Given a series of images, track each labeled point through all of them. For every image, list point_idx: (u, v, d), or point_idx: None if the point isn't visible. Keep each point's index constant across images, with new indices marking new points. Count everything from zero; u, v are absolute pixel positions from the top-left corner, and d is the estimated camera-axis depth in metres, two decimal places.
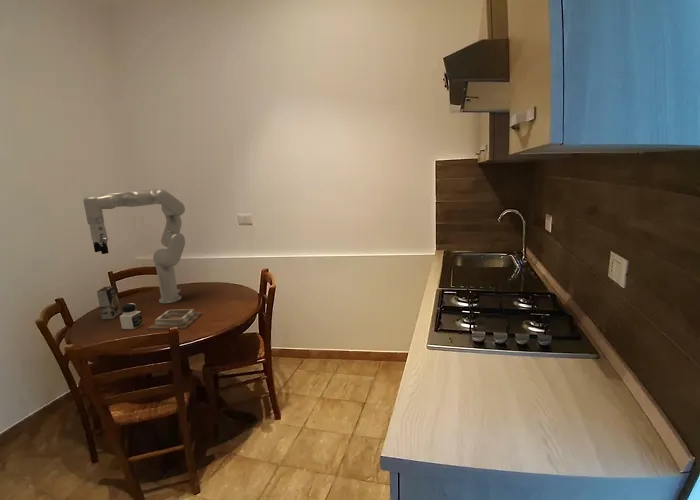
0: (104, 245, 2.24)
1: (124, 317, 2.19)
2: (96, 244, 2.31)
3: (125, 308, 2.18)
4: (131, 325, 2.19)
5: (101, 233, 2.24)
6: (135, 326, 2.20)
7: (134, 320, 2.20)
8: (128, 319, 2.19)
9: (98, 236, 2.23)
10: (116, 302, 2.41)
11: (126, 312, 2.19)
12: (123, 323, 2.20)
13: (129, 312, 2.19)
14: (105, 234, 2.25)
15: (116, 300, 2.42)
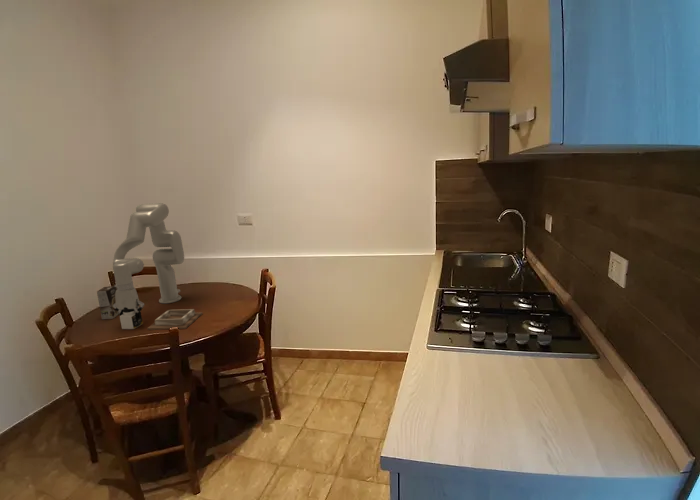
0: None
1: (124, 317, 2.19)
2: None
3: (125, 308, 2.18)
4: (131, 325, 2.19)
5: None
6: (135, 326, 2.20)
7: (134, 320, 2.20)
8: (128, 319, 2.19)
9: None
10: None
11: (126, 312, 2.19)
12: (123, 323, 2.20)
13: (129, 312, 2.19)
14: None
15: None
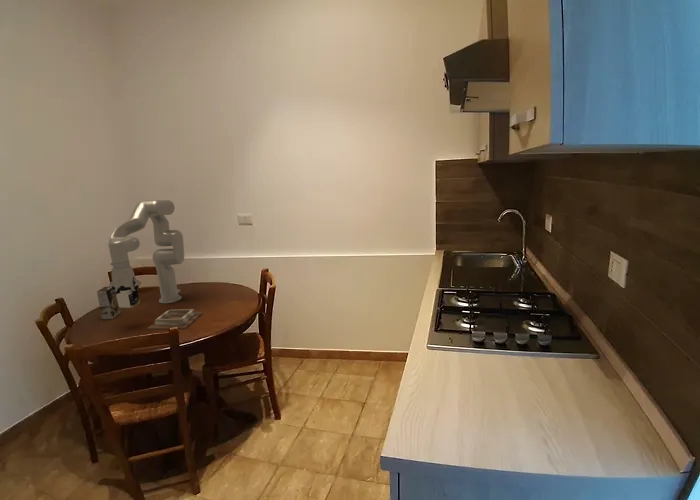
0: None
1: (121, 295, 2.17)
2: None
3: (121, 286, 2.16)
4: (128, 303, 2.17)
5: None
6: (132, 304, 2.19)
7: (131, 298, 2.18)
8: (125, 298, 2.17)
9: None
10: (116, 302, 2.41)
11: (123, 290, 2.17)
12: (120, 301, 2.18)
13: (126, 290, 2.17)
14: None
15: (116, 300, 2.42)
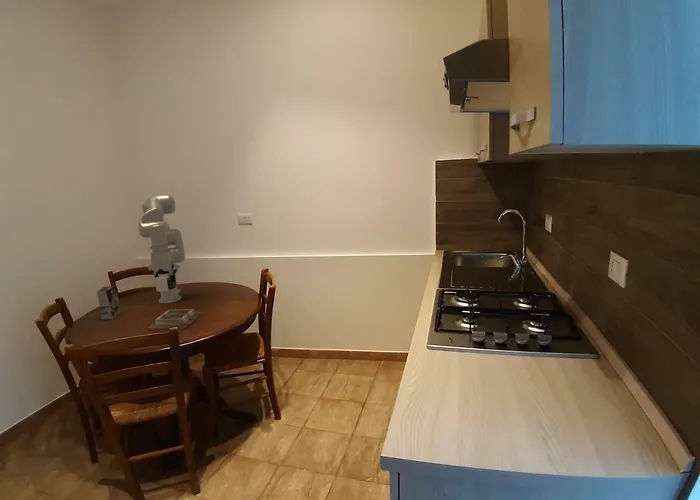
0: None
1: (159, 279, 2.17)
2: None
3: (160, 270, 2.17)
4: (166, 287, 2.18)
5: None
6: (170, 288, 2.19)
7: (169, 282, 2.18)
8: (163, 281, 2.17)
9: None
10: (116, 302, 2.41)
11: (161, 274, 2.17)
12: (158, 285, 2.18)
13: (164, 274, 2.17)
14: None
15: (116, 300, 2.42)
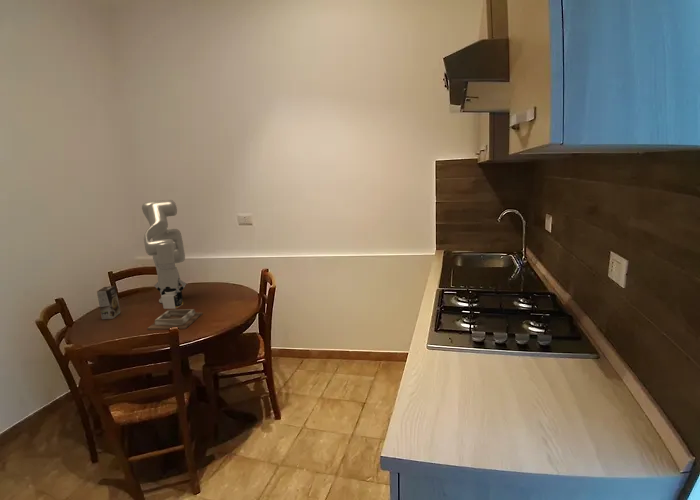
0: None
1: (166, 296, 2.20)
2: None
3: (167, 287, 2.19)
4: (173, 304, 2.20)
5: None
6: (177, 306, 2.21)
7: (176, 300, 2.20)
8: (170, 299, 2.19)
9: None
10: (116, 302, 2.41)
11: (168, 291, 2.19)
12: (165, 303, 2.21)
13: (171, 291, 2.20)
14: None
15: (116, 300, 2.42)
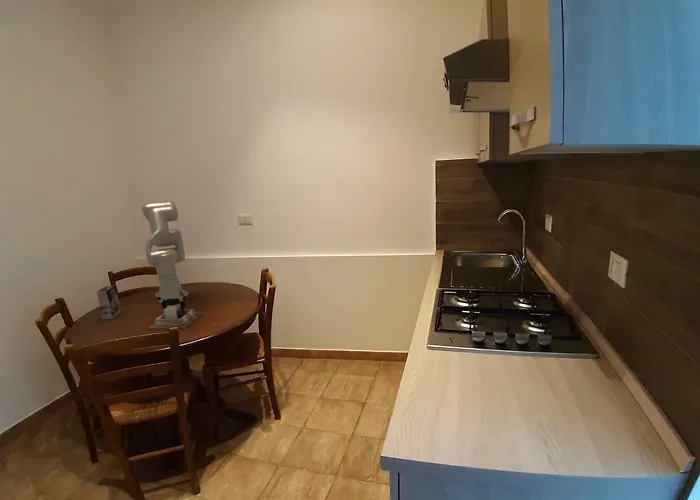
0: None
1: (168, 310, 2.21)
2: None
3: (169, 301, 2.21)
4: (175, 318, 2.22)
5: None
6: None
7: (178, 313, 2.22)
8: (173, 312, 2.21)
9: None
10: (116, 302, 2.41)
11: (170, 305, 2.21)
12: (167, 316, 2.22)
13: (173, 305, 2.22)
14: None
15: (116, 300, 2.42)
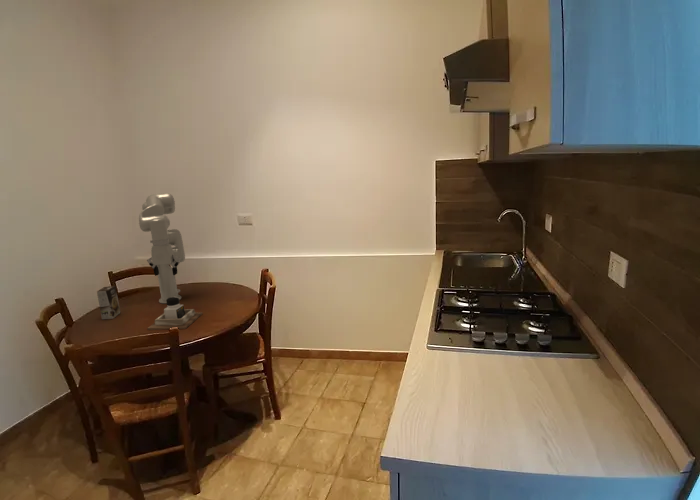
0: None
1: (168, 310, 2.21)
2: None
3: (169, 301, 2.21)
4: (175, 318, 2.22)
5: None
6: None
7: (178, 313, 2.23)
8: (173, 312, 2.21)
9: None
10: (116, 302, 2.41)
11: (170, 305, 2.21)
12: (167, 316, 2.22)
13: (173, 305, 2.22)
14: None
15: (116, 300, 2.42)
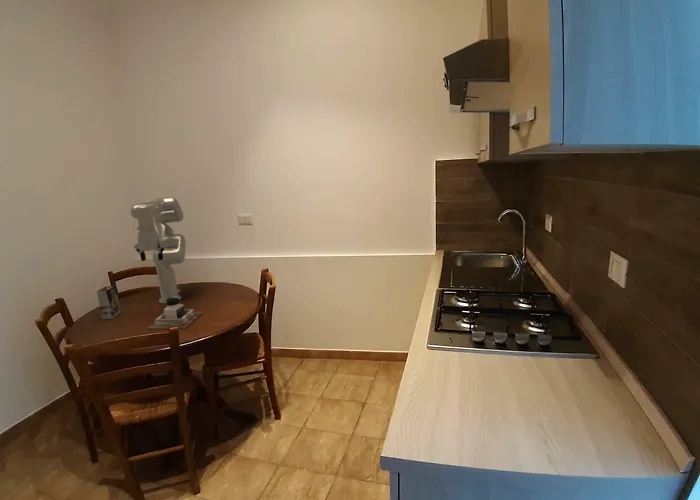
0: None
1: (168, 310, 2.21)
2: None
3: (169, 301, 2.21)
4: (175, 318, 2.22)
5: None
6: None
7: (178, 313, 2.23)
8: (173, 312, 2.21)
9: None
10: (116, 302, 2.41)
11: (170, 305, 2.21)
12: (167, 316, 2.22)
13: (173, 305, 2.22)
14: None
15: (116, 300, 2.42)
